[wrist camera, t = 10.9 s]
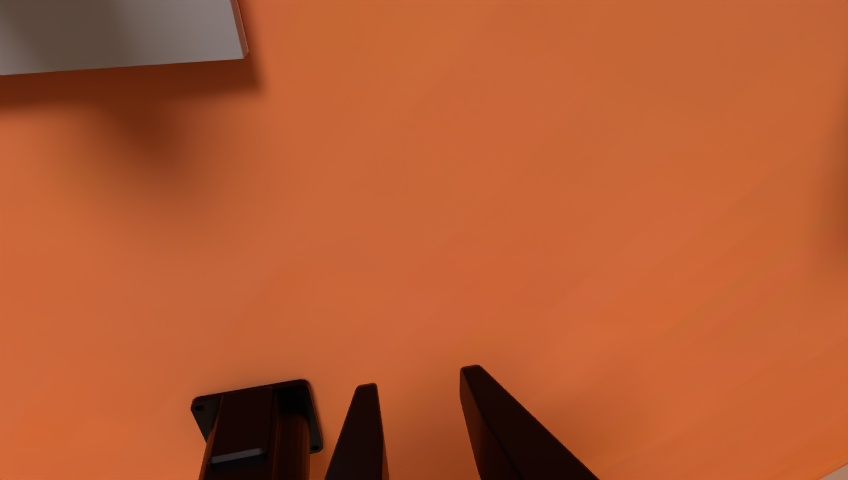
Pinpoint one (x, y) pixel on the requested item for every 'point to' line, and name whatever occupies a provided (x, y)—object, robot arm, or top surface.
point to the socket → (116, 33)
